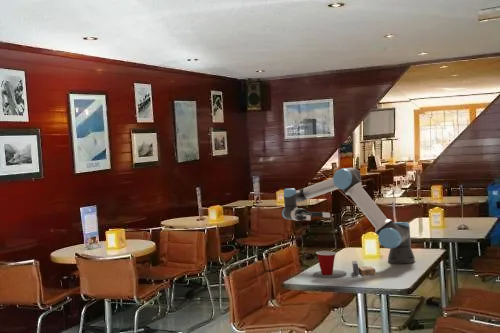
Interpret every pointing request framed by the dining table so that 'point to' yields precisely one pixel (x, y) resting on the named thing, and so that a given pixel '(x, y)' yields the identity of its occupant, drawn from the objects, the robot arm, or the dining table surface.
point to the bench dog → (355, 267)
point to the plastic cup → (326, 261)
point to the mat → (334, 275)
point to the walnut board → (366, 270)
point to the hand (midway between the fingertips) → (319, 216)
